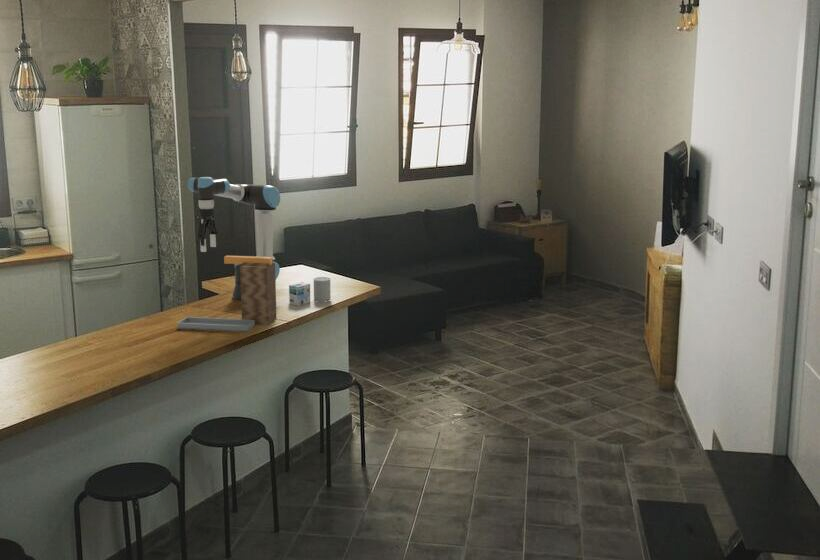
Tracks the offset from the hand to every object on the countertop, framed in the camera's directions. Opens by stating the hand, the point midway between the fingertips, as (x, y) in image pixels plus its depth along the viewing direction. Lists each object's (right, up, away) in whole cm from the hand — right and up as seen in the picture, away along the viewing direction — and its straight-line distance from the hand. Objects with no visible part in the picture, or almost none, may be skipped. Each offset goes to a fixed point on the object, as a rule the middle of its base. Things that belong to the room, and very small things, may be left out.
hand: (208, 249), depth 445 cm
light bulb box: (+41, -29, +42) cm, 66 cm away
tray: (+6, -39, -8) cm, 40 cm away
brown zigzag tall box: (+25, -37, +5) cm, 45 cm away
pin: (+21, -7, -1) cm, 22 cm away
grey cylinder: (+53, -27, +49) cm, 77 cm away
